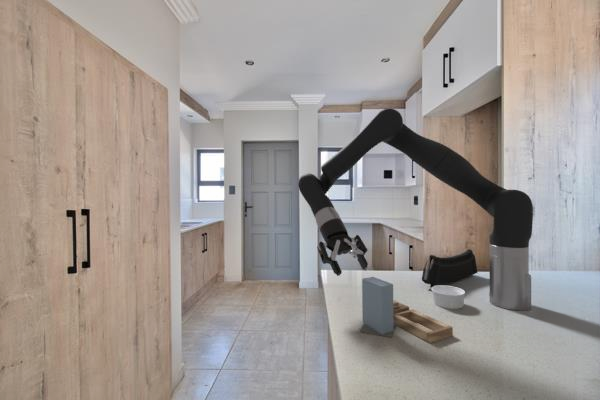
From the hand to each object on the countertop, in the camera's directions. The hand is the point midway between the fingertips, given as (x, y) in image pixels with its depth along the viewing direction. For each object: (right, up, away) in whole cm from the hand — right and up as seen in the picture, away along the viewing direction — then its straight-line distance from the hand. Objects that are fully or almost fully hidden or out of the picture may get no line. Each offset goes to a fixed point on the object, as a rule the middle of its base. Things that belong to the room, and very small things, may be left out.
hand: (352, 271), depth 82 cm
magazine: (+41, -10, +25) cm, 49 cm away
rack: (+13, -11, -9) cm, 19 cm away
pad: (+4, -11, -11) cm, 16 cm away
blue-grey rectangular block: (+4, -11, -11) cm, 16 cm away
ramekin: (+29, -11, +4) cm, 31 cm away
